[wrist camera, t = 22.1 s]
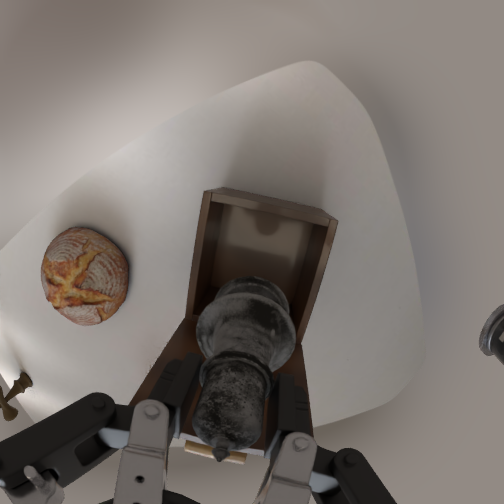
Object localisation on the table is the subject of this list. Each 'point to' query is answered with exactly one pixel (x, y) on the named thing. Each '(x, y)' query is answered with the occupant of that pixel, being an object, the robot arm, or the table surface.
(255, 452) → the wooden box lid
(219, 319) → the chess piece
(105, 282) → the bread
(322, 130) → the table surface
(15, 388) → the kendama
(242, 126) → the table surface
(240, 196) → the brown wooden box
